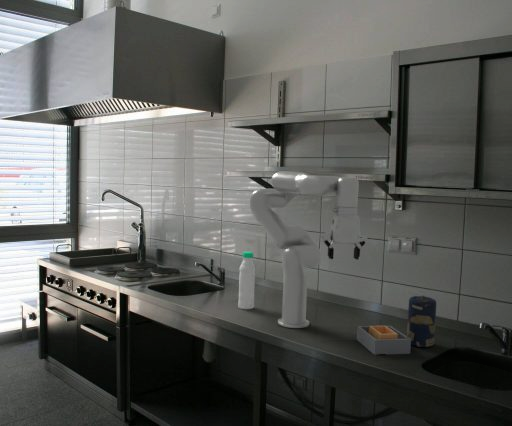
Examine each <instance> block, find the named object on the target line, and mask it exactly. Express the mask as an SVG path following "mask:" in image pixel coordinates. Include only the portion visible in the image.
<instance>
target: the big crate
mask: <svg viewBox="0 0 512 426" xmlns="http://www.w3.org/2000/svg"><path fill="white" fill-rule="evenodd" d="M369 326H370V325H369ZM369 326H368V325H366V326H365V325H364V326H363V325H362V326H361V325H359V326H357V327H356V328H357V329H356V340H357V341H358V342H359V343H360V344H361V345H362V346H364V347H365V348H366V349H367V350H368V351H369V352H370V353H371V354H373V355H375V356H379V354H386V355H410V354H411V347H412V346H411V345H412V344H411V339H410V338H408V337H407V335H405V334H404V333H403V332H401V331H399V330H398V329H396V328H395V327H393V326H392V325H386V326H387V327H388V328H390V329H391V330H393V331H394V332H396V333H397V334H398V339H378V340H377V339H375V338H374V337H373V336H371V335H370V334H369ZM377 354H378V355H377Z"/></svg>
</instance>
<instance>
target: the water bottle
mask: <svg viewBox="0 0 512 426" xmlns="http://www.w3.org/2000/svg"><path fill="white" fill-rule="evenodd" d="M253 259H254V252H252V251H243V252H242V262H241V264H240V266H239V268H238V269H239V275H238V276H239V278H238V303H237V307H238V308H239V309H240V310H252V309H253V308H254V307H255V285H256V266H255V264H254V261H253Z"/></svg>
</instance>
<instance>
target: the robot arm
mask: <svg viewBox="0 0 512 426" xmlns="http://www.w3.org/2000/svg"><path fill="white" fill-rule="evenodd" d="M270 181H271V182H270V183H271V186H272V188H259V189H257V190H254V191H253V192H252V193H251V196H250V197H249V198H250V199H249V207H250V208H249V209H250V211H251V214H252V216H253V217H254V218H255V219H256V221H257V222H258V223H259V224H260V226H261V227H262V229H263V230H264V232H265V233H266V234H267V236H268V238H270V240H271V243H273V245H274V246H275V247H276V248H277V249H279V250H283V252H282V254H281V263H282V272H283V275H282V277H283V279H282V280H283V281H282V283H283V284H282V285H283V286H282V303H281V304H282V305H281V307H282V308H281V310H282V311H281V318H278V319H277V323H278V325H279V326H282V327H284V328H289V329H301V328H302V329H303V328H307V327H309V326H310V321H309V320H308V319H306V318H307V317H306V315H307V298H308V297H307V295H308V279H307V275H306V272H305V269H312V268H316V267H318V266H320V264H321V262H322V259H323V255H322V251H321V249H320V248H319V246H318V244H317V243H316V242H315V240H314V238H312V236H311V235H310V233H309V232H308V231H307V230H306V229H305V228H304V226H303V227H302V226H300V225H295V224H294V225H288V224H287V223H286V222H284V220H283V219H282V217H281V216H280V215H279V214H278V213H277V212H275V211H274V210H273V209H284V208H286V207H287V206H288V205H289V204H290V203H292V201H293V200H294V199H295V198H296V197H297V196H298V195H302V196H303V195H304V196H313V197H336V203H335V205H336V206H335V208H334V207H333V208H332V209H331V210H332V213H334V215H333V217H332V221H331V227H330V231H327V232H325V233H323V234H321V239H322V241H323V244H325V245H326V247H327V257H328V259H330V260H333V259H334V254H335V253H334V252H335V251H334V250H335V249H334V246H335V245H336V244H346V245H347V244H350V245H354V246H355V247H354V248H353V259H355V260H359V258H360V256H361V249H362V247H363V246H364V245H365V244H366V242H367V241H368V238H369V236H367V235H365V234H364V233H362V232H361V222H360V215H358V204H359V203H358V202H359V201H358V200H359V189H360V188H359V185H360V184H359V183H360V182H359V179H358V178H355V177H342V176H336V175H335V176H334V175H317V174H316V175H314V174H312V175H311V174H308V173H306V172H300V171H286V170H285V171H284V170H281V171H277V172H276V173H274V174H273V175H272V177H271V180H270ZM328 238H330V241H329V240H328Z"/></svg>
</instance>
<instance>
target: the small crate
mask: <svg viewBox="0 0 512 426" xmlns="http://www.w3.org/2000/svg"><path fill="white" fill-rule="evenodd" d="M387 326H388V325H369V334H370V335H371V336H373V337H374V338H375V339H377V340H378V339H398V334H397V333H396V332H394V331H393V330H391V329H390V328H388V327H387Z"/></svg>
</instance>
